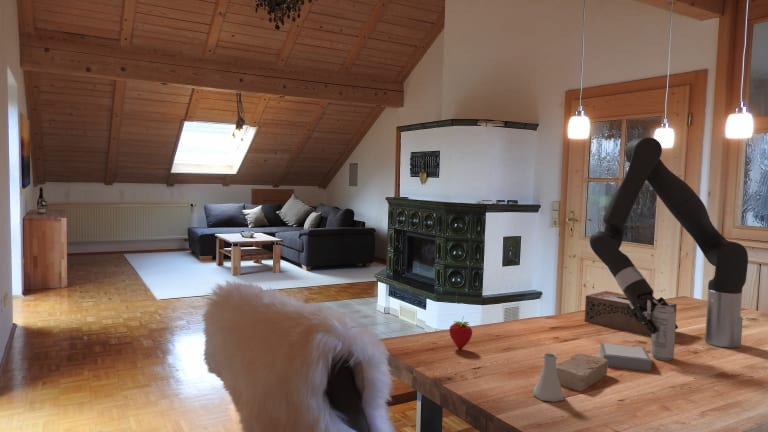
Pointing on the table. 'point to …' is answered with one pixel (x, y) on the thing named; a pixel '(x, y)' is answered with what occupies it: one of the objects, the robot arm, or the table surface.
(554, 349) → the table surface
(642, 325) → the tissue box cover
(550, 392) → the flask
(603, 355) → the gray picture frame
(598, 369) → the brick
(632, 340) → the table surface
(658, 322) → the energy drink can
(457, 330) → the strawberry
